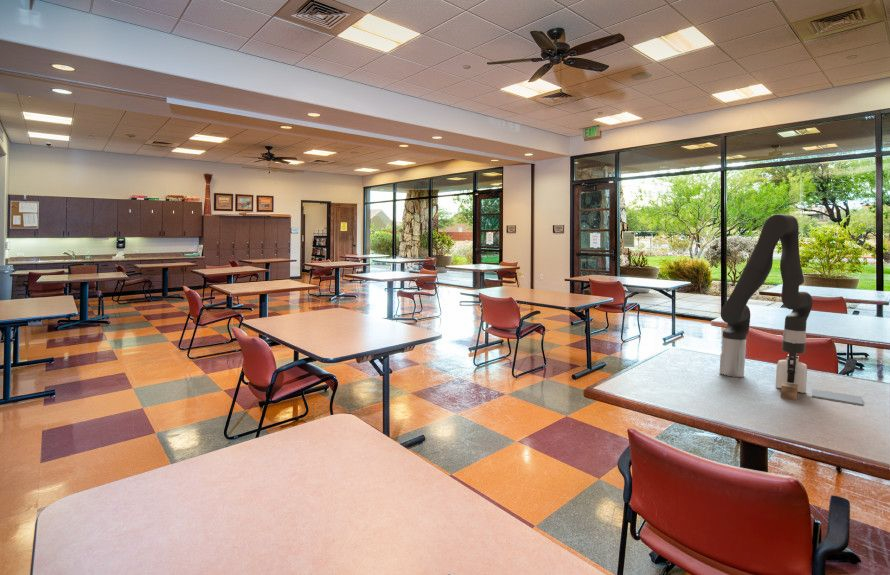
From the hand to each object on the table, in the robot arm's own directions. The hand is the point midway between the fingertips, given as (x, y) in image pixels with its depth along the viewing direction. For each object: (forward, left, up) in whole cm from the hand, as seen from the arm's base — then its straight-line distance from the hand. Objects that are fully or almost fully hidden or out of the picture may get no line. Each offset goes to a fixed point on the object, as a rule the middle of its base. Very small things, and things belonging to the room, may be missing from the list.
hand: (790, 380), depth 188 cm
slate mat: (+15, 0, -4) cm, 15 cm away
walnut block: (0, -11, -4) cm, 11 cm away
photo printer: (0, 0, -4) cm, 4 cm away
